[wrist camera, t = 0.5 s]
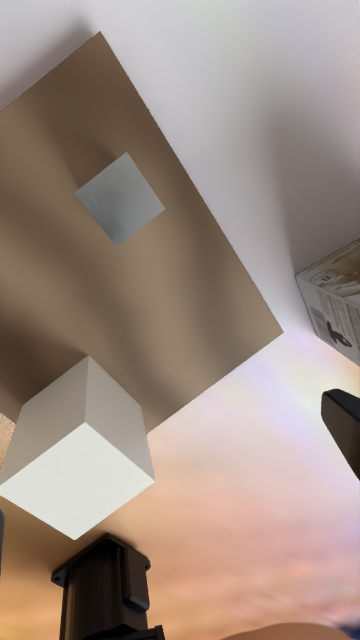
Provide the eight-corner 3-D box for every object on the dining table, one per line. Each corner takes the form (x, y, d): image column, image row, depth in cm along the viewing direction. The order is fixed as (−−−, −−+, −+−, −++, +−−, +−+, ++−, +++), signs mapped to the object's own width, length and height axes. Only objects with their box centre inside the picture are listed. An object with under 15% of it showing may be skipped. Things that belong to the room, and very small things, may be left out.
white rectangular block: (80, 450, 23) (74, 540, 17) (22, 404, 21) (-7, 490, 15) (140, 405, 23) (155, 481, 17) (88, 355, 21) (85, 421, 15)
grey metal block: (112, 232, 18) (116, 246, 14) (80, 191, 17) (74, 192, 13) (148, 203, 18) (165, 209, 14) (119, 160, 17) (126, 151, 13)
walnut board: (88, 464, 25) (88, 477, 24) (-174, 263, 17) (-193, 268, 16) (275, 325, 25) (283, 332, 24) (100, 41, 16) (100, 30, 15)
